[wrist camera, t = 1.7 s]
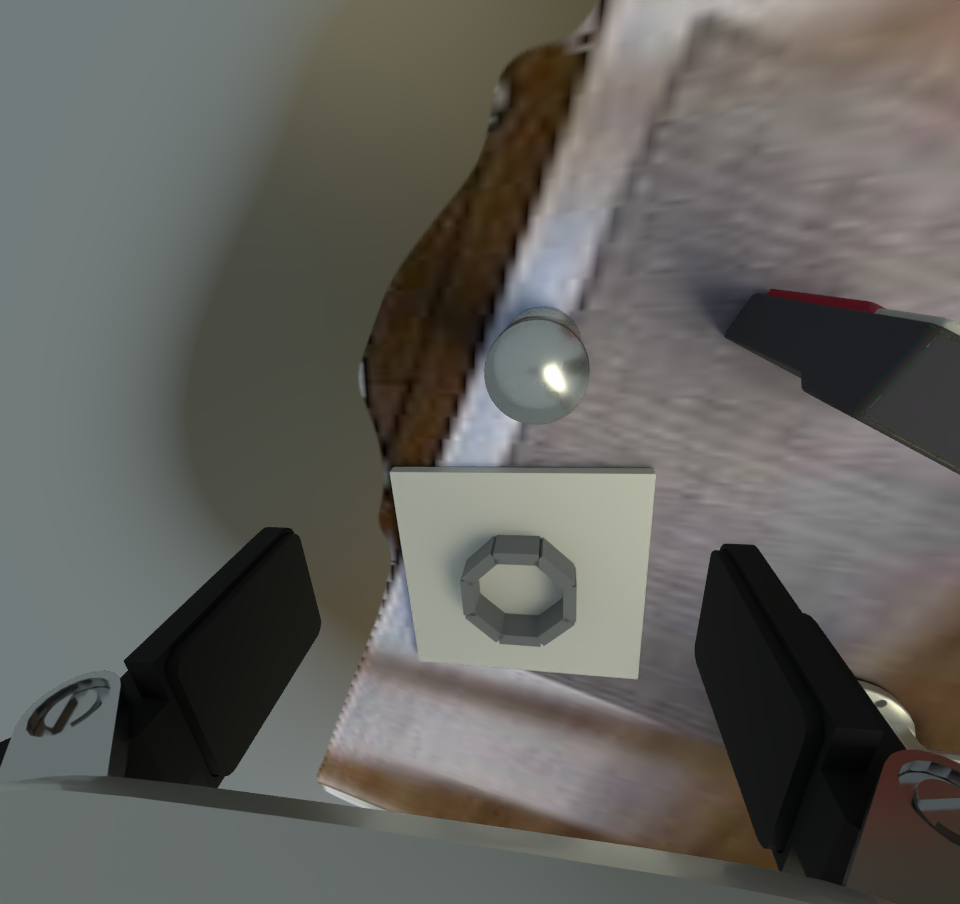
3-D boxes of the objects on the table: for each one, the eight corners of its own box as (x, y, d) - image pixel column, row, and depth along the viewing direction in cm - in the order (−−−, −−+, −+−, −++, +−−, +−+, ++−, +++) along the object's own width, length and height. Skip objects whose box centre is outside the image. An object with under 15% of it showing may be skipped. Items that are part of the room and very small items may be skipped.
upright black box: (915, 363, 28) (1256, 462, 14) (860, 421, 30) (1117, 558, 16) (760, 280, 27) (959, 299, 14) (715, 344, 29) (851, 416, 16)
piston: (583, 303, 30) (591, 317, 22) (582, 387, 32) (589, 424, 24) (498, 308, 31) (480, 323, 23) (503, 389, 33) (486, 426, 25)
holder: (653, 468, 33) (663, 490, 30) (635, 669, 41) (642, 704, 38) (393, 466, 37) (377, 486, 33) (422, 652, 44) (411, 683, 41)
